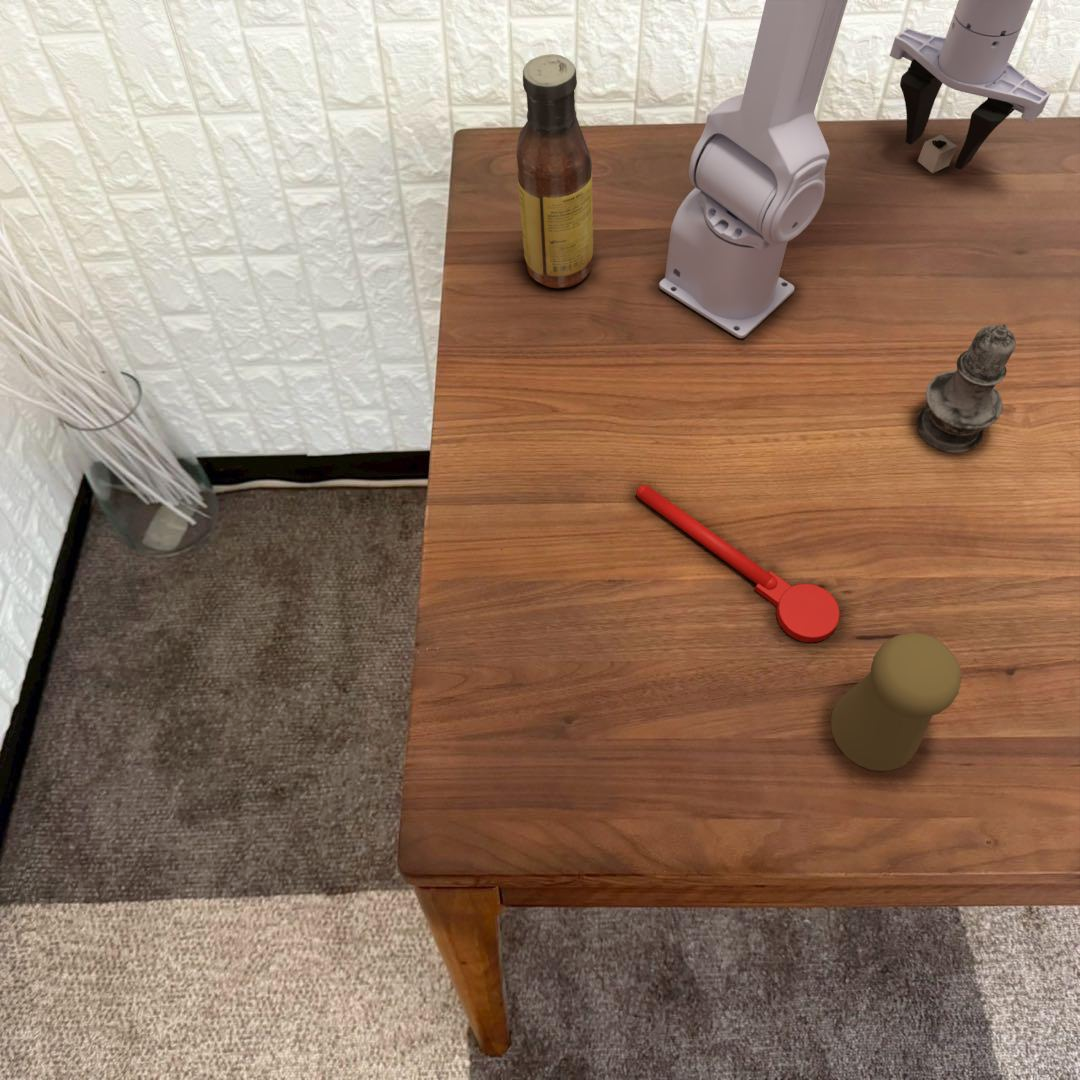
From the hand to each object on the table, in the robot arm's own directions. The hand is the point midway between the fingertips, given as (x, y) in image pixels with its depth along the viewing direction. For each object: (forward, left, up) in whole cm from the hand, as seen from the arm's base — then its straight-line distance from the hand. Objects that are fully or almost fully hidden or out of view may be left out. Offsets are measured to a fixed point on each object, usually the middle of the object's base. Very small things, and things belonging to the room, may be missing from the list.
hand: (937, 151), depth 98 cm
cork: (+28, -53, -2) cm, 60 cm away
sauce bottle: (-18, -35, -2) cm, 39 cm away
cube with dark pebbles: (0, 0, -2) cm, 2 cm away
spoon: (+13, -49, -1) cm, 51 cm away
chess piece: (+18, -27, -2) cm, 33 cm away
